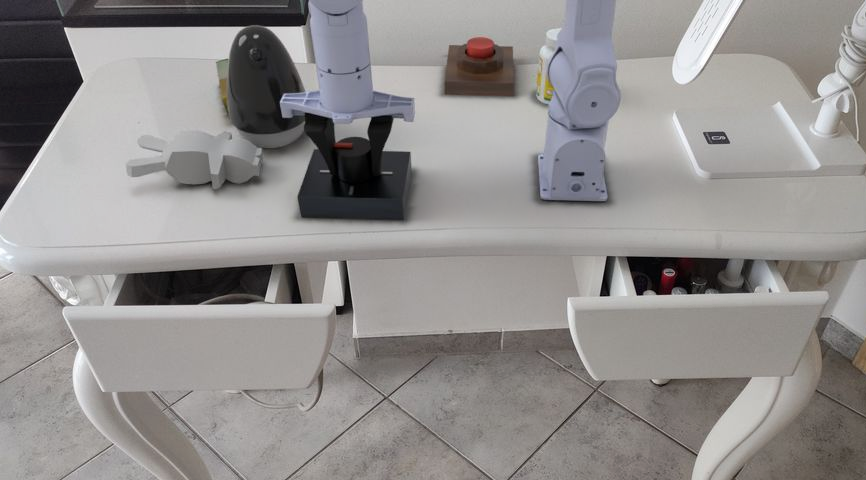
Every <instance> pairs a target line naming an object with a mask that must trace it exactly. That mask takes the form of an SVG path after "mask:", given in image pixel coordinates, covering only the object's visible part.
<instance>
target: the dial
mask: <svg viewBox="0 0 866 480" xmlns="http://www.w3.org/2000/svg"><path fill="white" fill-rule="evenodd" d="M334 153H335V161H336V168H337V175H338V177H339V178H340V179H341V180H343V181H345V182H348V183H361V182H364V181H367V180H369V179H370V178H372V177H373V174H372V154H371V147H370V142H369V138H368V139H367V138H365V137H362V136H349V137H344V138H341V139H339V140H338V141H336V142H335V143H334Z"/></svg>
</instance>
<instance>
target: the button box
mask: <svg viewBox="0 0 866 480" xmlns="http://www.w3.org/2000/svg"><path fill="white" fill-rule="evenodd" d="M444 74H445V75H444V95H449V96H453V95H454V96H485V97H486V96H488V97H489V96H490V97H491V96H492V97H514V85H515V77H514V46H512V45H511V46H510V45H509V46H508V45H506V46H505V45H504V46H503V45H498V44H496V43H494V55H493V56H492V57H490V58H485V59H476V58H472V57H469V56H468V55H467V43H463V44H449V45H448V51H447V59H446V67H445V73H444Z"/></svg>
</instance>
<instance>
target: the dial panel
mask: <svg viewBox="0 0 866 480" xmlns="http://www.w3.org/2000/svg"><path fill="white" fill-rule="evenodd" d="M412 167H413V166H412V152H411V151H402V150H399V151H398V150H383V151H382V158H381V169H380V174H379V176H373V177H372V178H370V179H369V180H367V181H364V182H361V183H348V182H345V181H343V180H341V179H340V178H339V177H338V175H337V173H336V175H332V174H330V172H329V169H328V166H327V164H326V162H325V160H324V158H323V156H322V154H321V153H320V151H319V149H318V148H314V149H313V151H312V154H311V157H310V160H309V162H308V165H307V168H306V170H305V174H304V176H303V179H302V182H301V185H300V188H299V191H298V192H297V193H298V194H297V197H296V199H297V202H298V208H299V213H300V217H301V218H312V219H313V218H314V219H347V220H377V221H379V220H380V221H383V220H384V221H385V220H386V221H404V220H405V216H406V209H407V204H408V197H409V192H410V191H409V190H410V186H411V178H412V172H413V168H412Z"/></svg>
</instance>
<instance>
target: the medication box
mask: <svg viewBox="0 0 866 480" xmlns="http://www.w3.org/2000/svg"><path fill="white" fill-rule="evenodd" d="M228 59H229V57H227V58H224V59H220V60H218V61H215V65H216V66H215V67H216V73H217V79H218V84H219V90H220V97H221V101H222V104H223V107H224V109H225V111H226V114H227V116H228V117H229V113H228V104H227V69H228Z"/></svg>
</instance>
